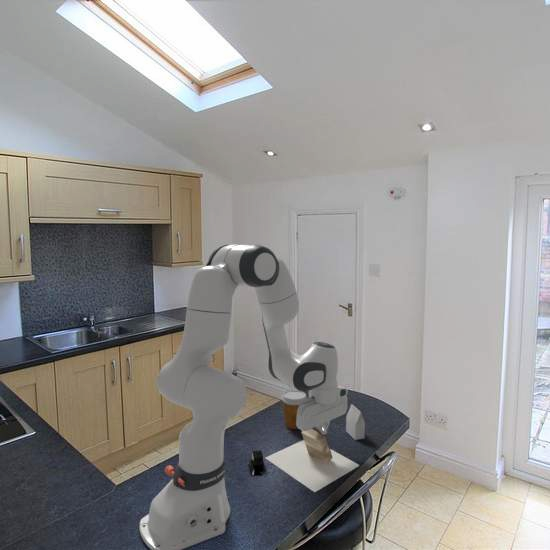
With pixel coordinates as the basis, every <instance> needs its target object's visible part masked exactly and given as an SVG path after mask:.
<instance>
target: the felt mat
mask: <svg viewBox="0 0 550 550" xmlns="http://www.w3.org/2000/svg"><path fill="white" fill-rule="evenodd" d="M330 451H331V454H332V457H333V458H332V459H331V460H330V461H329V462H328V463H327V464H325V463H324V462H322V461H320V460H319V459H317V458H315V457H314V456H312V455H310V454H309V453H308V451H307V448H306V445H305V442H304V439H302V440H299V441H298V442H296V443H294V444H292V445H290V446H287V447H285V448H284V449H280V450H279V451H277V452H275V453H272V454H270V455H268V456H266V457H265V459H266V460H267V461H268V462H270V463H272V464H273V465H274V466H276V467H277V468H279V469H280V470H282V471H283V472H284V473H286V474H288V475H289V476H290V477H291V478H293V479H295V480H296V481H298V482H299V483H301V484H302V485H303V486H304V487H306V488H308V490H311V491H312V492H313V493H316V492H317V491H320V490H322V489H323V488H324V487H327V486H328V485H329V484H332V483H334V482H335V481H336V480H337V479H340V478H341V477H343V476H345V475H346V474H348V473H351V472H352V471H353V470H355V469H356V468H358V467H360V464H358V463H356V462H355V461H353V460H351V459H349V458H348V457H345V456H344V455H342V454H340V453H339V452H336V451H335V450H334V449H331V448H330Z"/></svg>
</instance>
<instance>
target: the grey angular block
mask: <svg viewBox="0 0 550 550" xmlns="http://www.w3.org/2000/svg"><path fill="white" fill-rule="evenodd" d="M349 407H350V408H349V409H348V411H347V413H346V417H345V418H346V419H345V421H346V422H345V432H346V433H348V434H349V436H351V437H352V438H353V439H354V441H356V440H365V437H366V434H365V433H366V430H365V429H366V421H365V420H364V417H363V414H362V411H360V410H359V409H358V408H357V407H356V405H354V404H350V405H349Z"/></svg>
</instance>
